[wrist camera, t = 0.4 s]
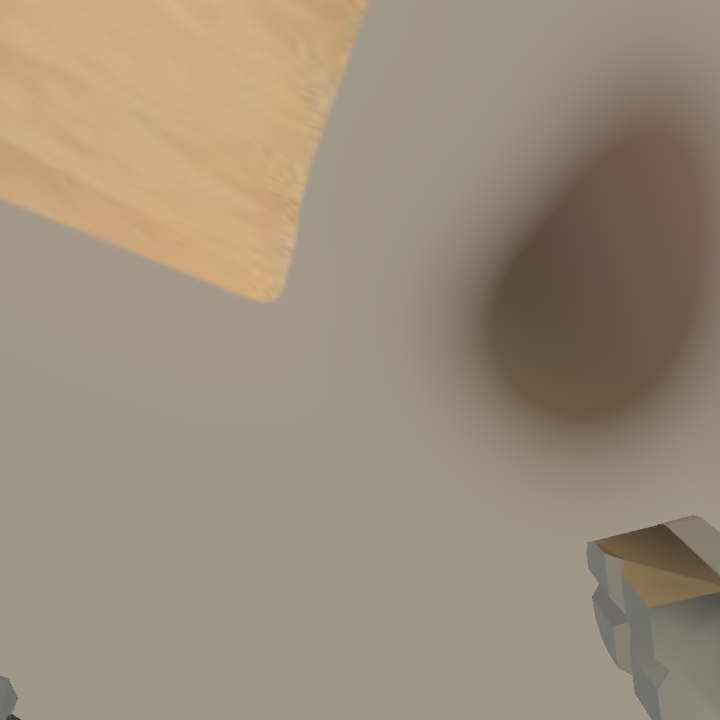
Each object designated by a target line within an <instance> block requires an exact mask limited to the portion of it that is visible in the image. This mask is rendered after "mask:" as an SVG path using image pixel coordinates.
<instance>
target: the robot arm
mask: <svg viewBox="0 0 720 720" xmlns="http://www.w3.org/2000/svg"><path fill="white" fill-rule="evenodd" d="M587 560H588V568H589V570H590V572H591V573H592V574H593V576H594V577H595V578H596V580H597V581H598V583H599V585H598V587H597V589H596V591H595V592H594V594H593V596H592V599H593V606H594V612H595V617H596V621H597V624H598V627H599V630H600V634H601V637H602V640H603V642H604V644H605V646H606V648H607V650H608V652H609V654H610V656H611V657H612V659H613V660H614V662H615V663H616V665H617V666H618V668H619V669H621V670H623V671H625V672H627V673H629V674H631V675H633V682H634V690H635V695H636V696H637V698H638V699H639V701H640V702H641V703H642V705H643V707H644V708H645V710H646V711H647V713H648V714H649V716H650V717H651V719H652V720H720V532H719V531H717V530H716V529H715V528H714V527H712V526H711V525H710V524H709V523H708V522H706V521H705V520H704V519H703V518H701V517H698V516H694V515H691V516H687V517H683V518H680V519H676V520H672V521H668V522H665V523H661V524H658V525H656V526H652V527H648V528H644V529H640V530H636V531H631V532H628V533H623V534H619V535H615V536H611V537H607V538H603V539H598V540H595V541H590V542H588V543H587ZM17 700H18V697H17V695H16V693H15V691H14V689H13V687H12V685H11V683H10V681H9V679H8V678H5V677H2V676H0V720H21V719H19V718H18V717H16V716H15V715H13V711H14V708H15V705H16V703H17Z"/></svg>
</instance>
